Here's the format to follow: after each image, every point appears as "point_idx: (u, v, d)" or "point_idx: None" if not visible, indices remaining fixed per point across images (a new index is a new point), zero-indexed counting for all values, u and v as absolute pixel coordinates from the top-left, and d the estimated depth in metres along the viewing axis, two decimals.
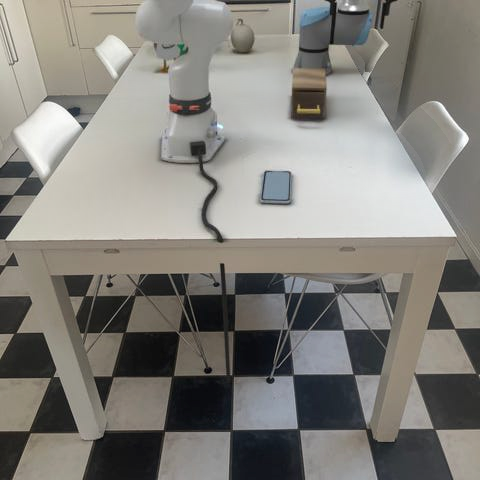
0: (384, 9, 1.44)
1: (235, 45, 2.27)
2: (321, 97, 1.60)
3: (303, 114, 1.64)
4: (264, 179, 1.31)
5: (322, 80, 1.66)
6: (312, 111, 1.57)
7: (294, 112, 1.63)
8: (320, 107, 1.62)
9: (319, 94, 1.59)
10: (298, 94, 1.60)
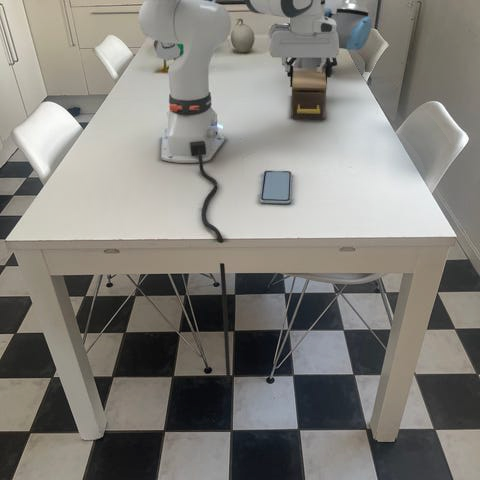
0: None
1: (235, 45, 2.27)
2: (321, 97, 1.60)
3: (303, 114, 1.64)
4: (264, 179, 1.31)
5: (322, 80, 1.66)
6: (312, 111, 1.57)
7: (294, 112, 1.63)
8: (320, 107, 1.62)
9: (319, 94, 1.59)
10: (298, 94, 1.60)
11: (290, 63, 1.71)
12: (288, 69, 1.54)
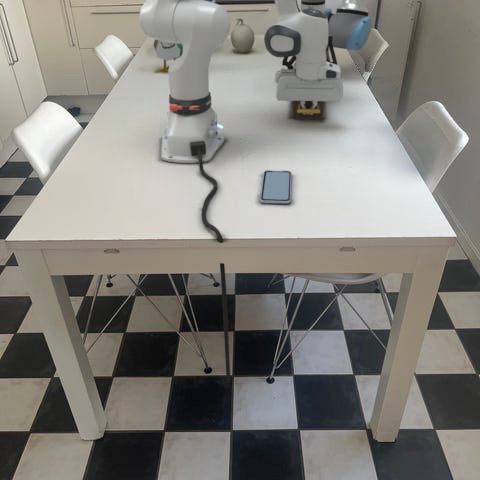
0: None
1: (235, 45, 2.27)
2: None
3: (303, 114, 1.64)
4: (264, 179, 1.31)
5: None
6: (312, 111, 1.57)
7: (294, 112, 1.64)
8: (320, 107, 1.62)
9: None
10: None
11: (290, 63, 1.71)
12: None
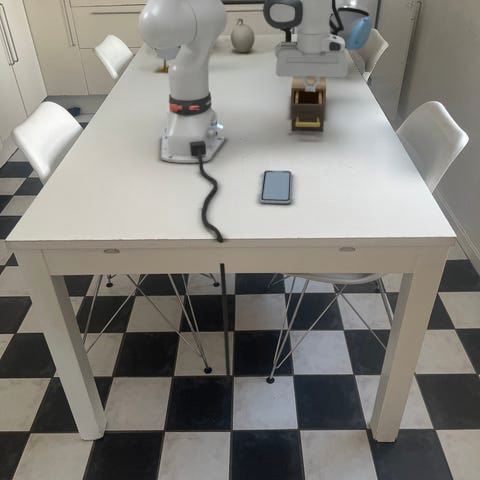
0: None
1: (235, 45, 2.27)
2: (321, 109, 1.51)
3: (302, 127, 1.55)
4: (264, 179, 1.31)
5: (322, 81, 1.65)
6: (311, 124, 1.49)
7: (293, 125, 1.55)
8: (320, 120, 1.53)
9: (319, 106, 1.51)
10: (297, 106, 1.52)
11: (288, 28, 1.65)
12: (308, 88, 1.49)
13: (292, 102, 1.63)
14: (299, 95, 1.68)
